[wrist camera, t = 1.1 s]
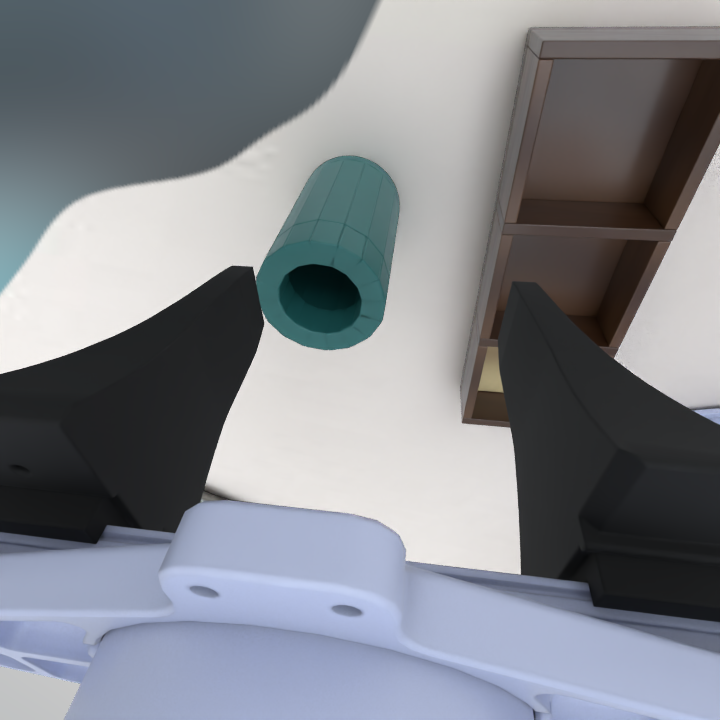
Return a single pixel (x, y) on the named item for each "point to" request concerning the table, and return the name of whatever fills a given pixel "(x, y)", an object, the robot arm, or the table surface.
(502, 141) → the table surface
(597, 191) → the rack
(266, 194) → the table surface
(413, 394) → the table surface
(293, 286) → the jar
